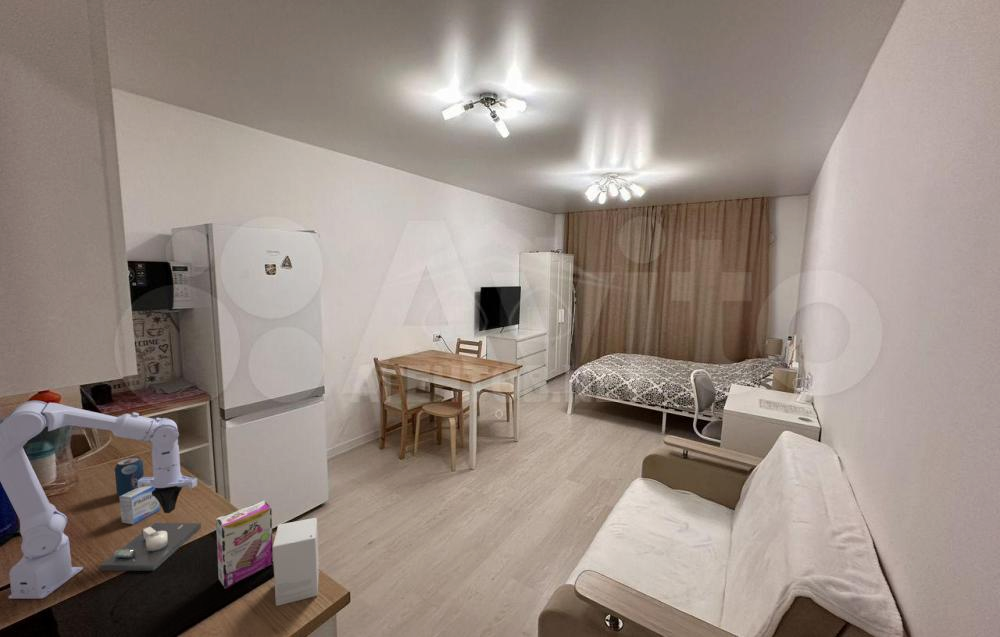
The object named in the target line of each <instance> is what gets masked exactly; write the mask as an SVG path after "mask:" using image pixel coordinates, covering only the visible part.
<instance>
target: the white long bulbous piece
mask: <svg viewBox="0 0 1000 637" xmlns="http://www.w3.org/2000/svg"><path fill="white" fill-rule="evenodd" d="M141 533H142V537H143V538H144V539H146V549H147V551H156V550H159V549H161V548H163V547H165V546H166V545H167V544H168V538H167V532H166V531H158V532H156V531H155V530H154V529H153V528H151V525H146V526H144V527H142V528H141Z"/></svg>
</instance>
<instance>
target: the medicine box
mask: <svg viewBox="0 0 1000 637" xmlns="http://www.w3.org/2000/svg"><path fill="white" fill-rule="evenodd" d="M154 490H155V487H152V486H143V487H141V488H136V489H134V490H132V491H130V492H128V493H126V494H124V495H122V496H120V497H119V496H118V498H119V506H120V508H119V509H120V516H121V523H123V524H127V525H135V524H138V523H139V522H141V521H143V520H146V518H148V517H150V516H152V515H154V514H155V513H156V512H159V511H160V503H159V501H158V500H157V499H156V498H155V497H154V496H153V495H152V491H154Z"/></svg>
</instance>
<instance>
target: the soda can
mask: <svg viewBox="0 0 1000 637" xmlns="http://www.w3.org/2000/svg"><path fill="white" fill-rule="evenodd" d="M114 474H115V476H114V477H115V486H116V495H117V497H118V498H119V497H120V496H122V495H124V494H126V493H128V492H130V491H132V490H134V489H136V488H138V482H137V481H138V480H140V479H142V478H143V477H145V471H144V461H143V460H142V459H141V457H140V456H129V457H124V458H122V459H120V460H118V461H117V462H116V466H115V467H114Z"/></svg>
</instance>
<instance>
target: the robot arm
mask: <svg viewBox="0 0 1000 637" xmlns="http://www.w3.org/2000/svg"><path fill="white" fill-rule="evenodd" d="M66 426H74V427H81V428H89V429H98V430H106V431H111V432H112V434H113V435H114V436H115V437H117V438H122V439H123V438H124V439H132V440H137V441H143V442H147V441H148V442H150V443H151V444H152V450H151V461H152V463H151V464H152V475H153V476H148V477H147V476H146V477H145V476H144V477H143V478H142V479H140V480H138V481H137V482H138V488H141V487H143V486H152V487H155V490H154V491H152V495H153V496H154V497H155V498H156V499H157V500H158V501H159V506H161V508H162V511H163V513H164V514H170V513H171V512H173V511H174V510H175V509H176V505H177V501H178V497H179V495H180V493H181V491H182V489H183V488H188V489H193V488H195V487H197V485H198V478H197V477H189V476H185V475H183V474H182V472H181V462H180V459H181V458H180V448H179V447H180V446H179V436H180V433H179V429H178V424H177V423H176V422H175V421H174V420H172V419H169V418H168V417H163V418H161V417H155V418H152V417H147V416H141V415H140V413H138V412H132V414H130V413H123V414H121V415H119V416H114V415H110V414H105V413H100V412H95V411H91V410H86V409H83V408H77V407H73V406H70V405H69V406H68V405H64V404H61V403H57V402H48V403H47V402H45V401H41V400H29V401H25V402H23V403H21V404H19V405H18V406H17V407H16V408H14V409H13V410H12V411H11V412H10V413H9V414H8V415H7V416H6V417H5V419H4V420H3V421H2V422H1V423H0V483H1V485H2V488H3V490H4V491H5V493H6V495H7V496H6V497H8V499H9V501H10V503H11V505H12V507H13V509H14V511H15V512H16V515H17V516H18V519H19V525H20V526H19V531H20V532H19V534H20V535H21V538H22V542H21V545H20V550H21V552H22V553H23V555H22V558H21V559H20V560H19V561H18V562H17V563H16V564H15V565H13V567H11V569H10V570H9V574H8V575H9V576H8V577H9V583H10V590H11V591H10V592H11V594H10V595H8V600H9V599H14V600H15V599H22V600H23V599H29V600H31V599H34V600H35V599H41V600H42V599H44V598H46V597H47V596H49V595H50V594H51V593H53V592H54V591H56V590H57V589H58V588H59V587H62V586H63V585H64V584H65V583H66V582H68V581H69V580H70V579H71V578H73V577H74V576H76V575H77V574H79V573H80V572H81V571H83V569H84V567H83V566H72V556H71V549H70V547H71V546H70V540H69V536H68V535H66V534H65V533H64V530H65V528H66V526H67V524H68V517H67V516H66V514H64V513H63V512H61V511H59V510H57V507H56V505H54V504H52V503H51V502H50V501H49V499H48V497H47V494H46V493H45V490H44V489H43V487H42V485H41V483H40V481H39V479H38V477H37V474H36V472H35V470H34V468H33V466H32V464H31V461H30V460H29V457H28V456H27V454H26V452H25V449H24V446H25V445H26V444H27V443H28V441H29V440H32V438H35V437H36V436H37V435H39V434H40V433H41V432H43V430H44V429H45V428H46V427H48V428H47V432H51V431H54V430H57V429H60V428H63V427H66Z"/></svg>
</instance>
